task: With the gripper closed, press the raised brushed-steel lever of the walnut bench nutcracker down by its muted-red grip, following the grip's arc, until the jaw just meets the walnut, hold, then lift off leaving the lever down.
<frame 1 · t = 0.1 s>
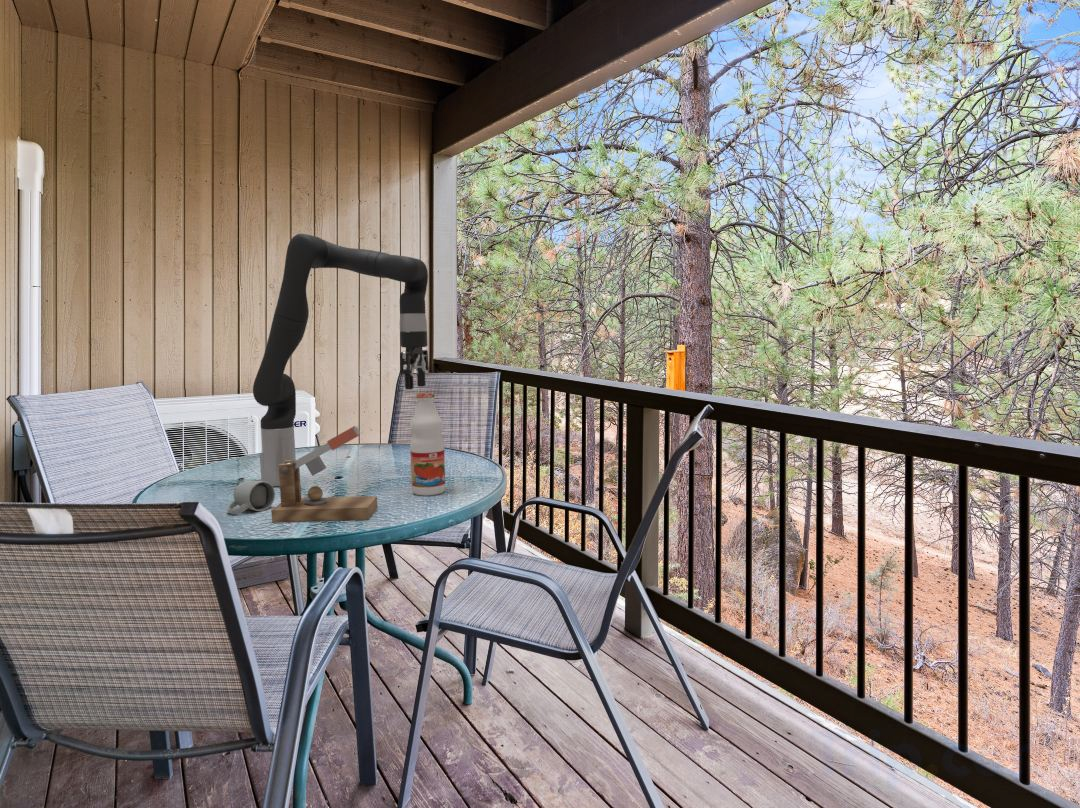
hand: (415, 387, 188), 29 cm above the table, tool pointing down, fingers open, 8 cm apart
lever: (324, 455, 164), point 15 cm above the table, hinge at -28.0°
fruit juice: (428, 492, 187), on the table
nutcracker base: (292, 515, 166), on the table
ceramic mug: (250, 511, 172), on the table
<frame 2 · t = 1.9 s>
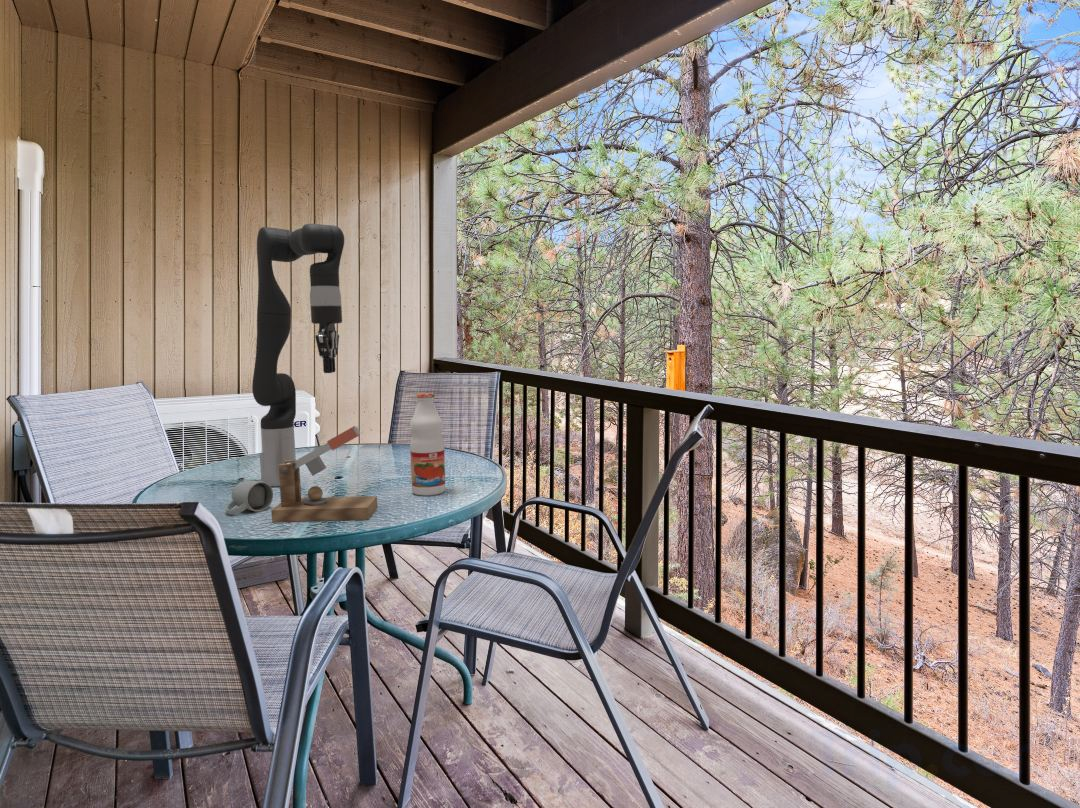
hand: (329, 372, 171), 35 cm above the table, tool pointing down, fingers closed
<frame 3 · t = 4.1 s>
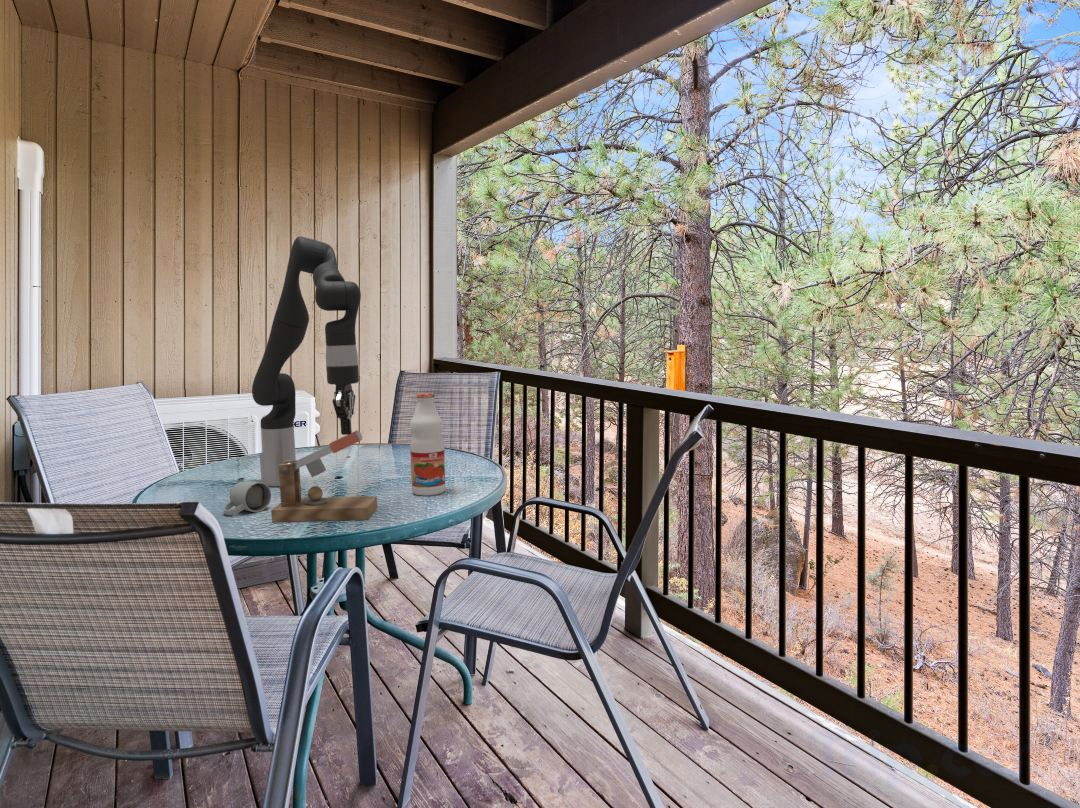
hand: (346, 434, 164), 20 cm above the table, tool pointing down, fingers closed
lever: (324, 458, 165), point 14 cm above the table, hinge at -24.2°, touching gripper
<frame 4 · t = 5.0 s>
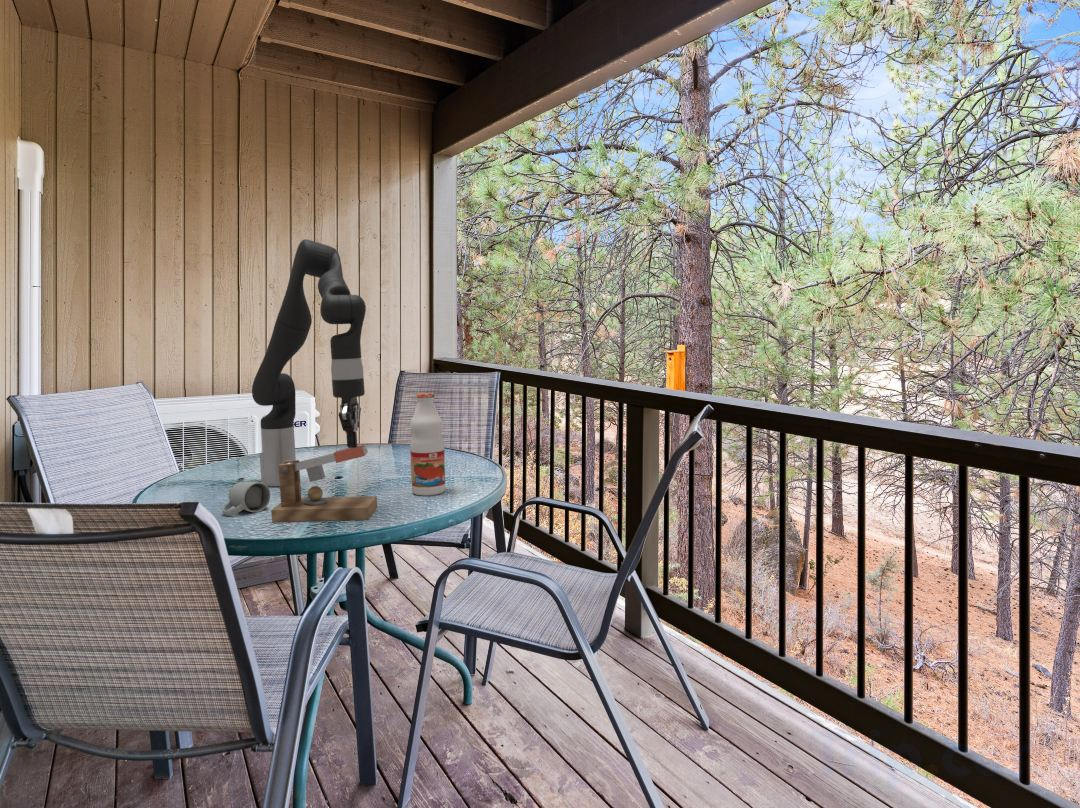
hand: (352, 446, 164), 17 cm above the table, tool pointing down, fingers closed
lever: (326, 465, 165), point 13 cm above the table, hinge at -12.6°, touching gripper
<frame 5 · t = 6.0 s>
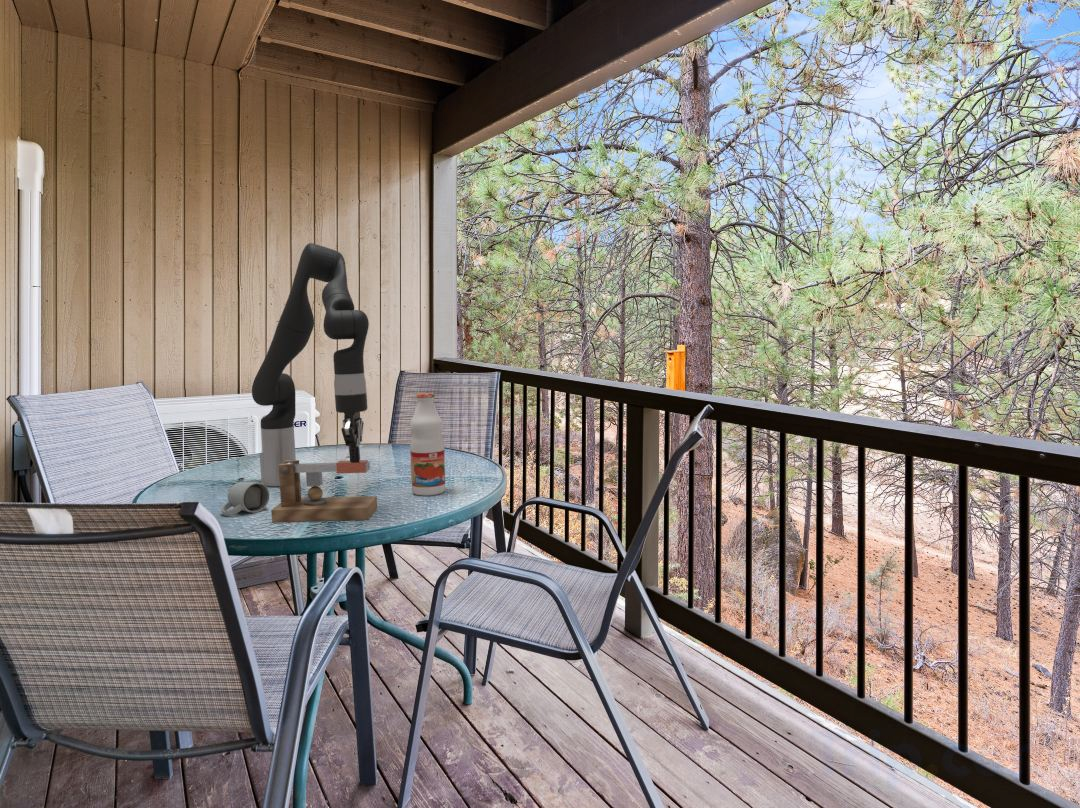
hand: (355, 461, 165), 13 cm above the table, tool pointing down, fingers closed
lever: (326, 473, 165), point 11 cm above the table, hinge at -0.1°, touching gripper
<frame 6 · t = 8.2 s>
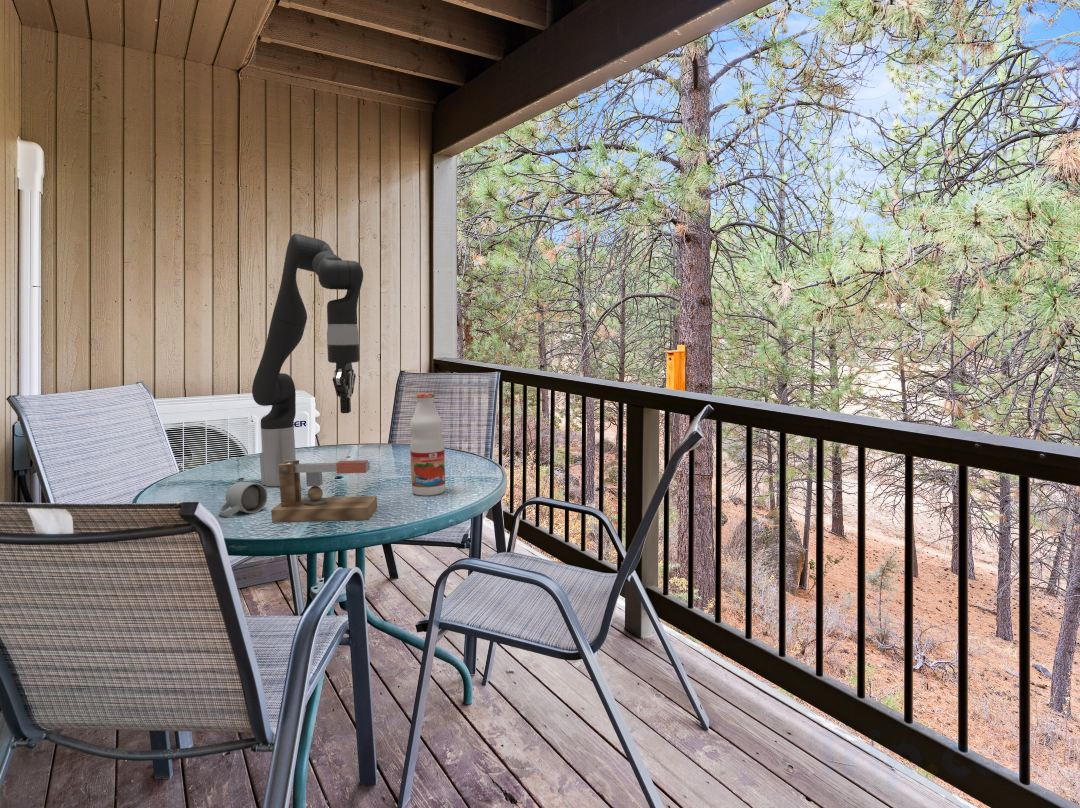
hand: (345, 412, 165), 25 cm above the table, tool pointing down, fingers closed
lever: (326, 473, 165), point 10 cm above the table, hinge at 0.0°
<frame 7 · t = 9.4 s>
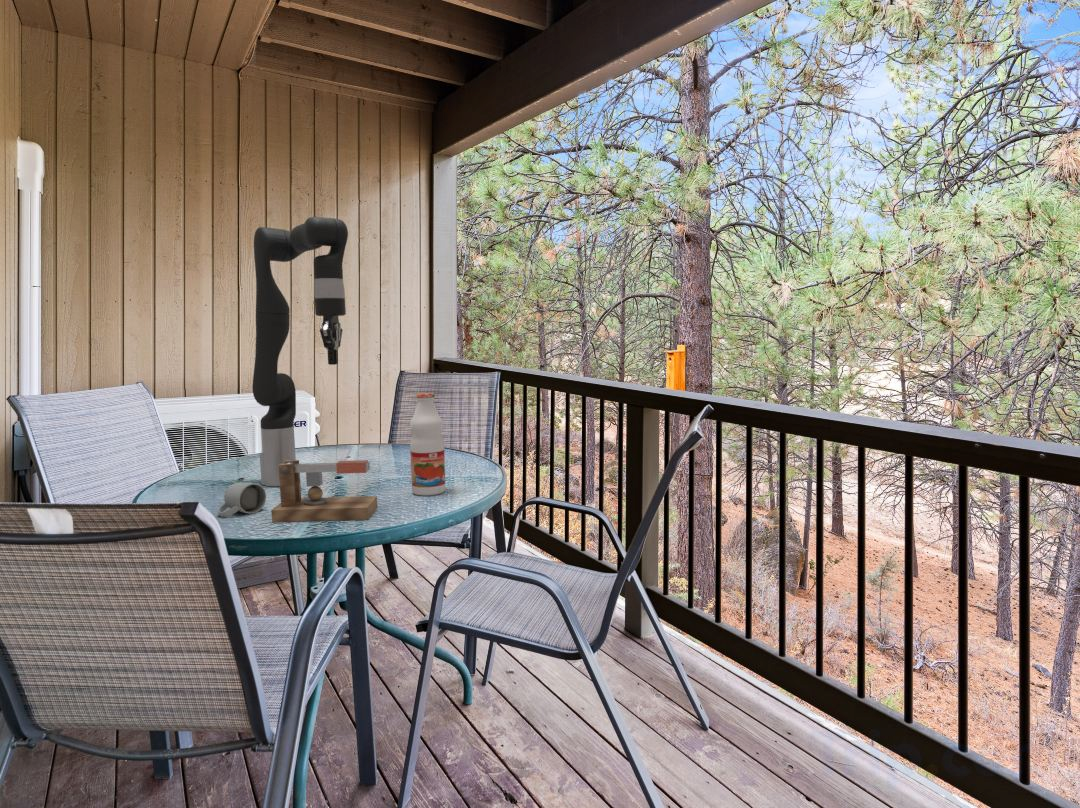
hand: (333, 364, 173), 37 cm above the table, tool pointing down, fingers closed
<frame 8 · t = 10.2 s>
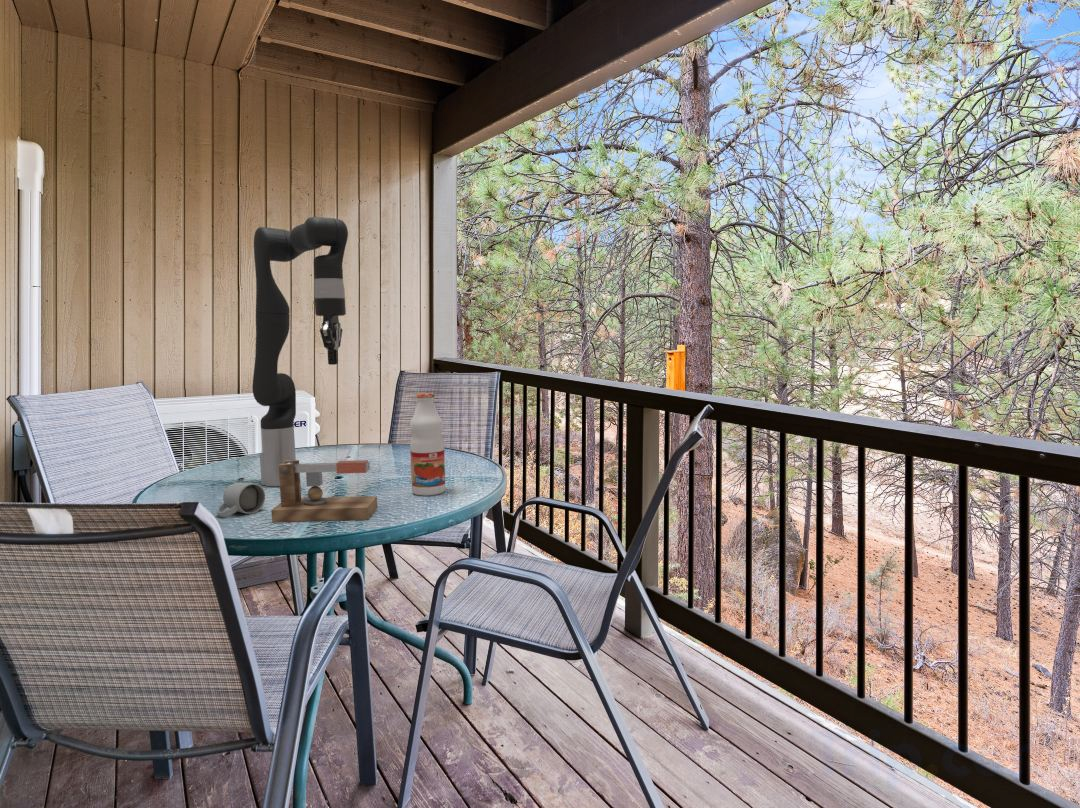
hand: (333, 364, 173), 37 cm above the table, tool pointing down, fingers closed
at the end: lever at +0° (first picture: -28°); ceramic mug moved 3.0 cm from its start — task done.
